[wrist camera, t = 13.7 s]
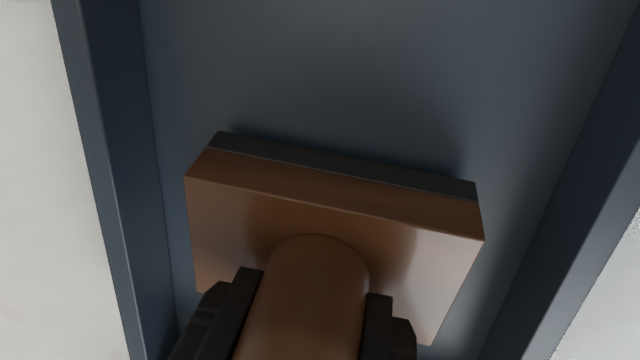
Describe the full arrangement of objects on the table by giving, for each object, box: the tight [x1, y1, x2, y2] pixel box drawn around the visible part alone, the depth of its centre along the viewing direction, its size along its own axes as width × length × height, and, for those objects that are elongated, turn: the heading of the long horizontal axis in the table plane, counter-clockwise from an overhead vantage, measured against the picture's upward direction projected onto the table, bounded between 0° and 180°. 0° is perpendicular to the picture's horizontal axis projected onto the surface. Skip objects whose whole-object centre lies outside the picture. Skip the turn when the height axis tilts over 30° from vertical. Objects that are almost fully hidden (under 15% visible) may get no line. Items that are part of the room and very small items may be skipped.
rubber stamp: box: [183, 130, 486, 360], centre depth 11 cm, size 5×8×8 cm, turn 82°
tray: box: [51, 0, 640, 360], centre depth 13 cm, size 22×15×3 cm
